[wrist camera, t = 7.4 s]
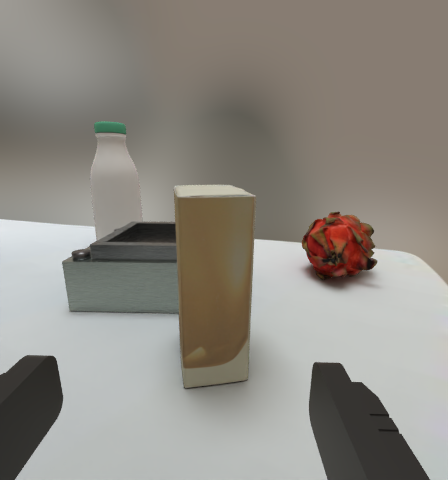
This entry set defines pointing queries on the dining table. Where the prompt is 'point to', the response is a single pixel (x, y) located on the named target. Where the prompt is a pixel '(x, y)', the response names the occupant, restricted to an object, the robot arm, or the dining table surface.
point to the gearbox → (126, 271)
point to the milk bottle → (113, 181)
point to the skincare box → (214, 281)
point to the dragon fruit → (339, 246)
